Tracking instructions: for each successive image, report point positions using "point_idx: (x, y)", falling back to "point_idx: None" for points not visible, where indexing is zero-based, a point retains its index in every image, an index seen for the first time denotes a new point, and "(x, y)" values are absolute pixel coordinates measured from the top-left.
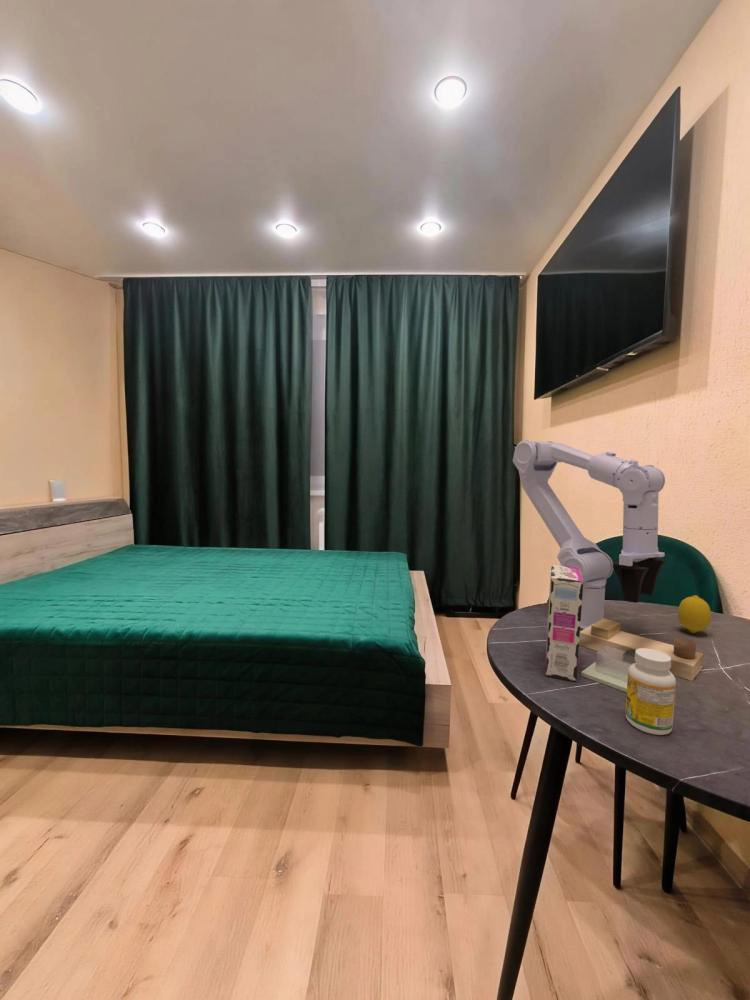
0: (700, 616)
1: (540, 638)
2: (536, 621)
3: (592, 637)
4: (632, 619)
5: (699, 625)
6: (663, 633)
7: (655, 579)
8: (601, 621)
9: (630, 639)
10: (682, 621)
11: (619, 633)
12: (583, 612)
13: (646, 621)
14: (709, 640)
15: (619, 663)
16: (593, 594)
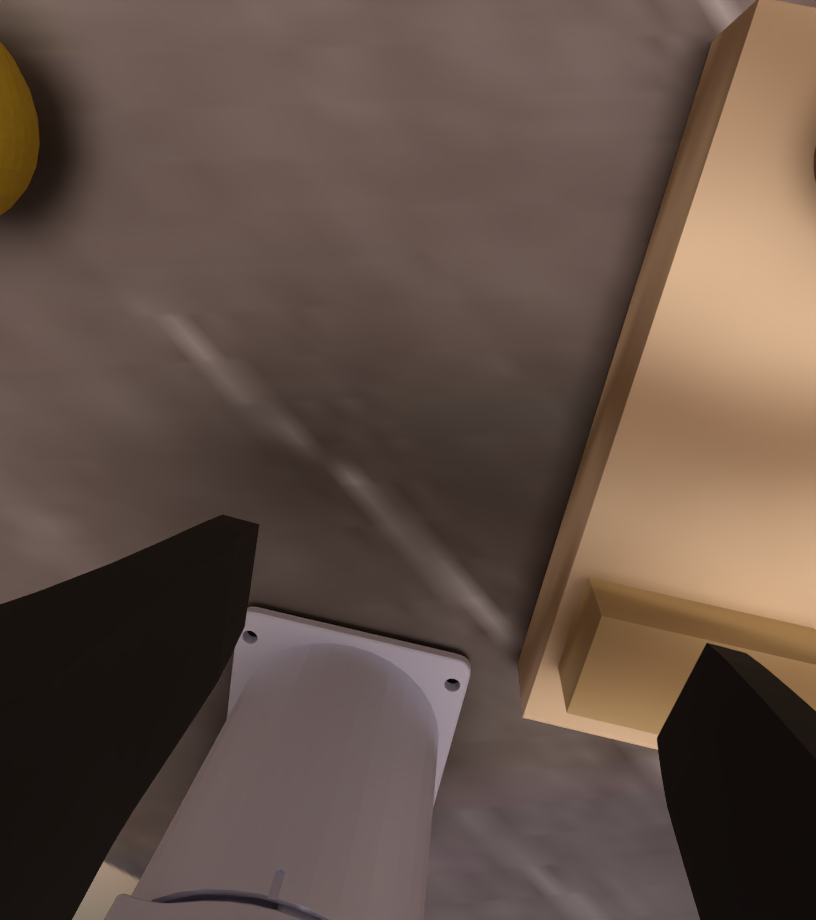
0: None
1: None
2: (478, 899)
3: None
4: (46, 500)
5: (11, 61)
6: (172, 315)
7: (126, 615)
8: (660, 721)
9: (724, 509)
10: (13, 198)
11: (632, 576)
12: (430, 802)
13: (13, 424)
14: (76, 12)
15: None
16: (394, 901)
